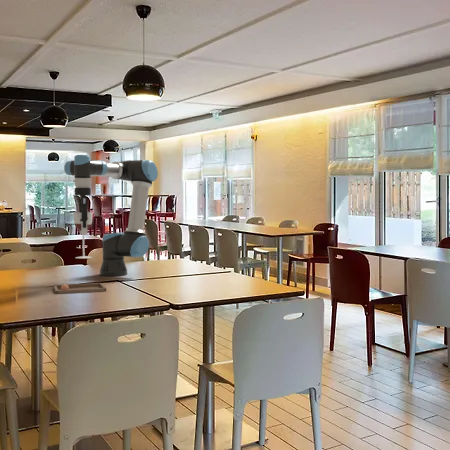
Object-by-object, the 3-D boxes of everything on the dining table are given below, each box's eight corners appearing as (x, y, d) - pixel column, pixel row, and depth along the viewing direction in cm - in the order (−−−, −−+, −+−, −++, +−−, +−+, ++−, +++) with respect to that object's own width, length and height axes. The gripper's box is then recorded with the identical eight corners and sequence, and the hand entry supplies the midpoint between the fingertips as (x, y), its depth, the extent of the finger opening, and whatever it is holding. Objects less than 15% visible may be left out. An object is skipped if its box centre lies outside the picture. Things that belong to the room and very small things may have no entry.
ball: (68, 291, 261) (68, 283, 261) (69, 292, 258) (68, 284, 258) (60, 291, 260) (60, 283, 260) (60, 292, 257) (60, 285, 257)
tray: (101, 287, 276) (101, 282, 276) (106, 293, 261) (106, 288, 261) (54, 289, 269) (54, 285, 269) (56, 295, 254) (55, 290, 254)
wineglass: (96, 256, 282) (96, 211, 281) (86, 258, 273) (85, 212, 272) (81, 255, 285) (80, 211, 283) (70, 258, 276) (69, 212, 274)
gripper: (72, 187, 286) (73, 232, 287) (76, 187, 265) (77, 235, 267) (88, 187, 288) (88, 232, 290) (93, 187, 268) (93, 235, 269)
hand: (83, 233), depth 278 cm, fingers closed on wineglass, 9 cm apart
